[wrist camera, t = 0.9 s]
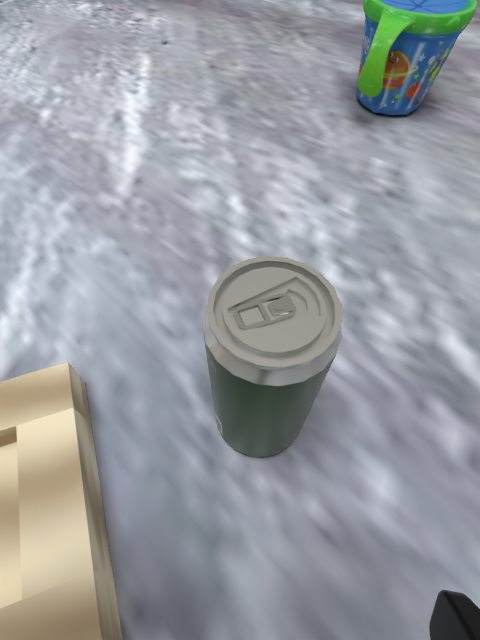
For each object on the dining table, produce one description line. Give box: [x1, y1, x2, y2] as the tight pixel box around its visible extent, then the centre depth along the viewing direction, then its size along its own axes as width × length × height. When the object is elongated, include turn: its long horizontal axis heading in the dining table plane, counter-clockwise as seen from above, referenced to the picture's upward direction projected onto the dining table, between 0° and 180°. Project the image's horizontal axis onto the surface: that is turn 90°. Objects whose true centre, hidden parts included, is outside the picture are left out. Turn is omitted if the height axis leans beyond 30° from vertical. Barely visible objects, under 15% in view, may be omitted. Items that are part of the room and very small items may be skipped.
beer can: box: [202, 256, 342, 457], centre depth 19 cm, size 5×5×12 cm
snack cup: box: [357, 0, 477, 115], centre depth 41 cm, size 16×10×10 cm
